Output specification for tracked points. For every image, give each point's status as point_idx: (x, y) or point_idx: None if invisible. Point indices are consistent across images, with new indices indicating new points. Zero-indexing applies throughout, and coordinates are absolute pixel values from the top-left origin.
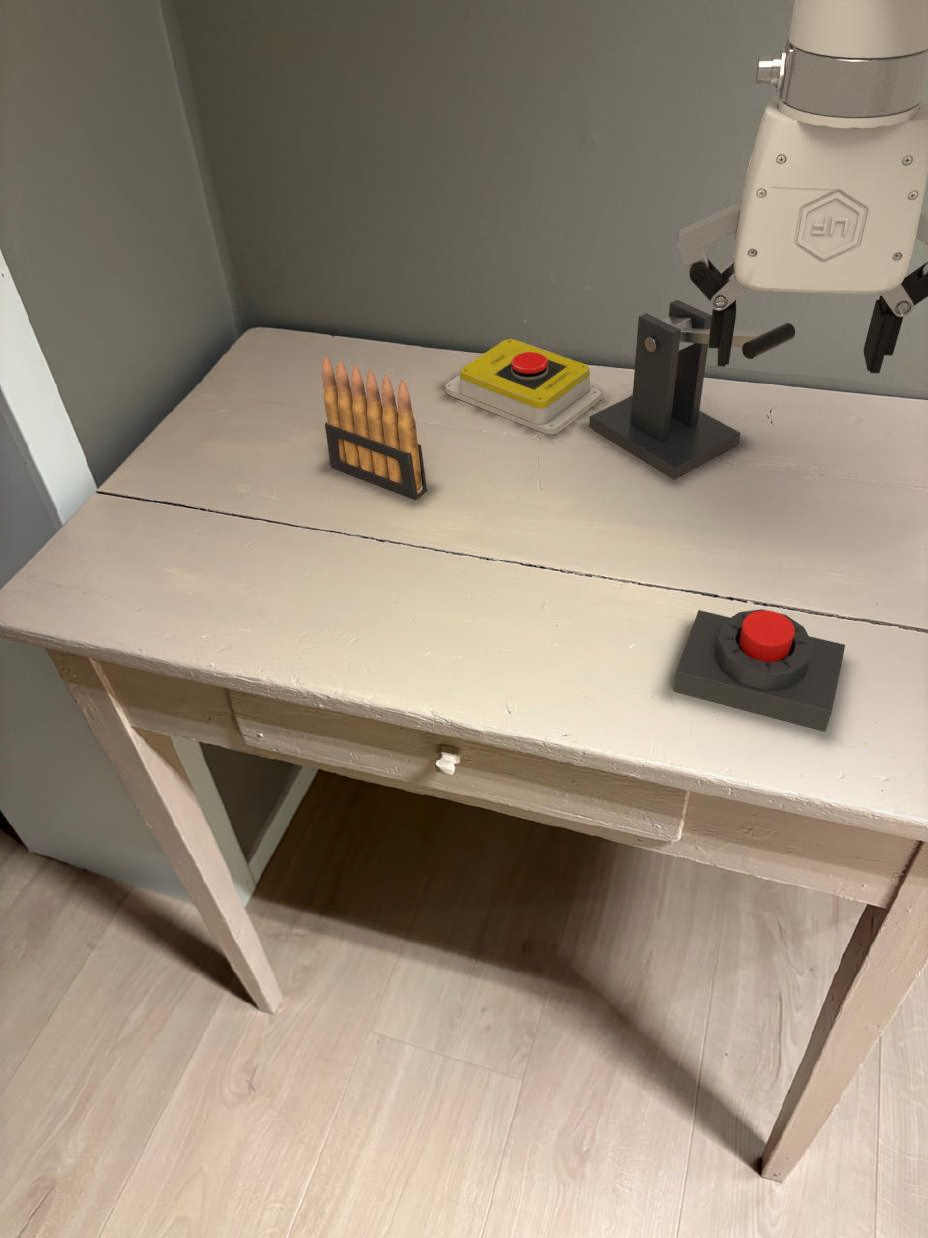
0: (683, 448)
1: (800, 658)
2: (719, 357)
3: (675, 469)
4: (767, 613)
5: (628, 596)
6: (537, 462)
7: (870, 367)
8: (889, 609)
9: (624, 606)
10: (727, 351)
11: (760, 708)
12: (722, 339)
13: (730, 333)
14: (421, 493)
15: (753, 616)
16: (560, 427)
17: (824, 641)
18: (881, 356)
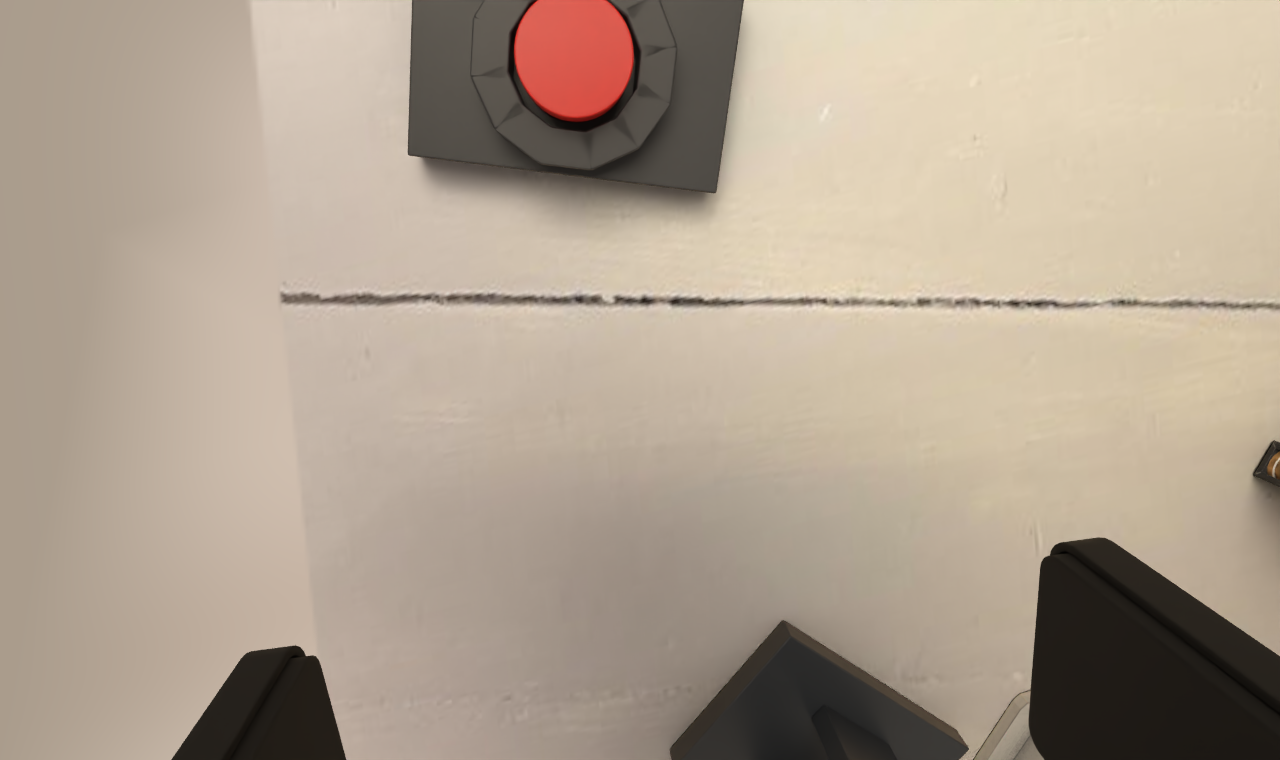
0: (780, 697)
1: (493, 15)
2: (1134, 561)
3: (789, 633)
4: (581, 107)
5: (842, 259)
6: None
7: (296, 666)
8: (341, 343)
9: (847, 227)
10: (1126, 588)
11: None
12: (1232, 632)
13: (1222, 673)
14: (1267, 458)
15: (611, 86)
16: (1014, 711)
17: (451, 154)
18: (211, 720)
